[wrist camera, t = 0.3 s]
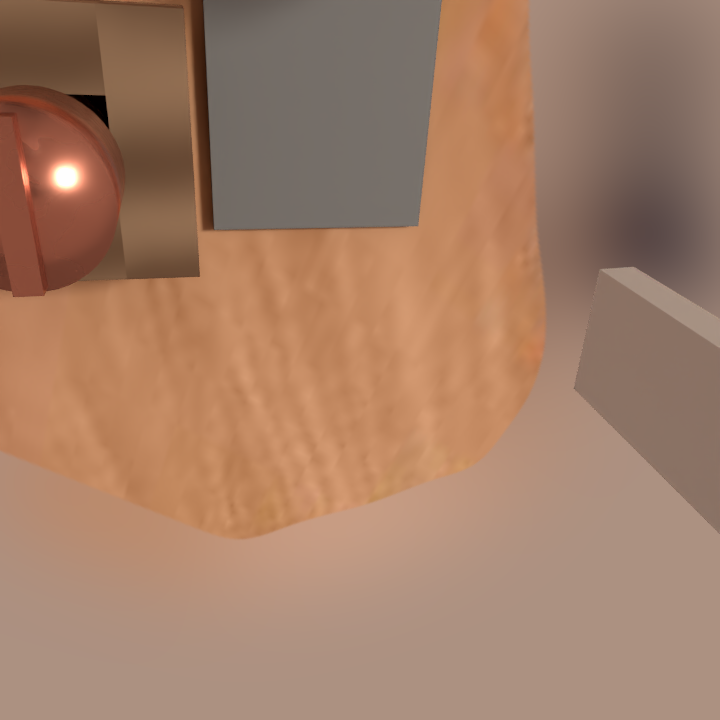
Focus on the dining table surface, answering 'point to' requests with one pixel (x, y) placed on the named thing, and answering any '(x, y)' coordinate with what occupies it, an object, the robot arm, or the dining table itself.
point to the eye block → (121, 114)
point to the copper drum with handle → (54, 189)
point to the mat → (318, 110)
